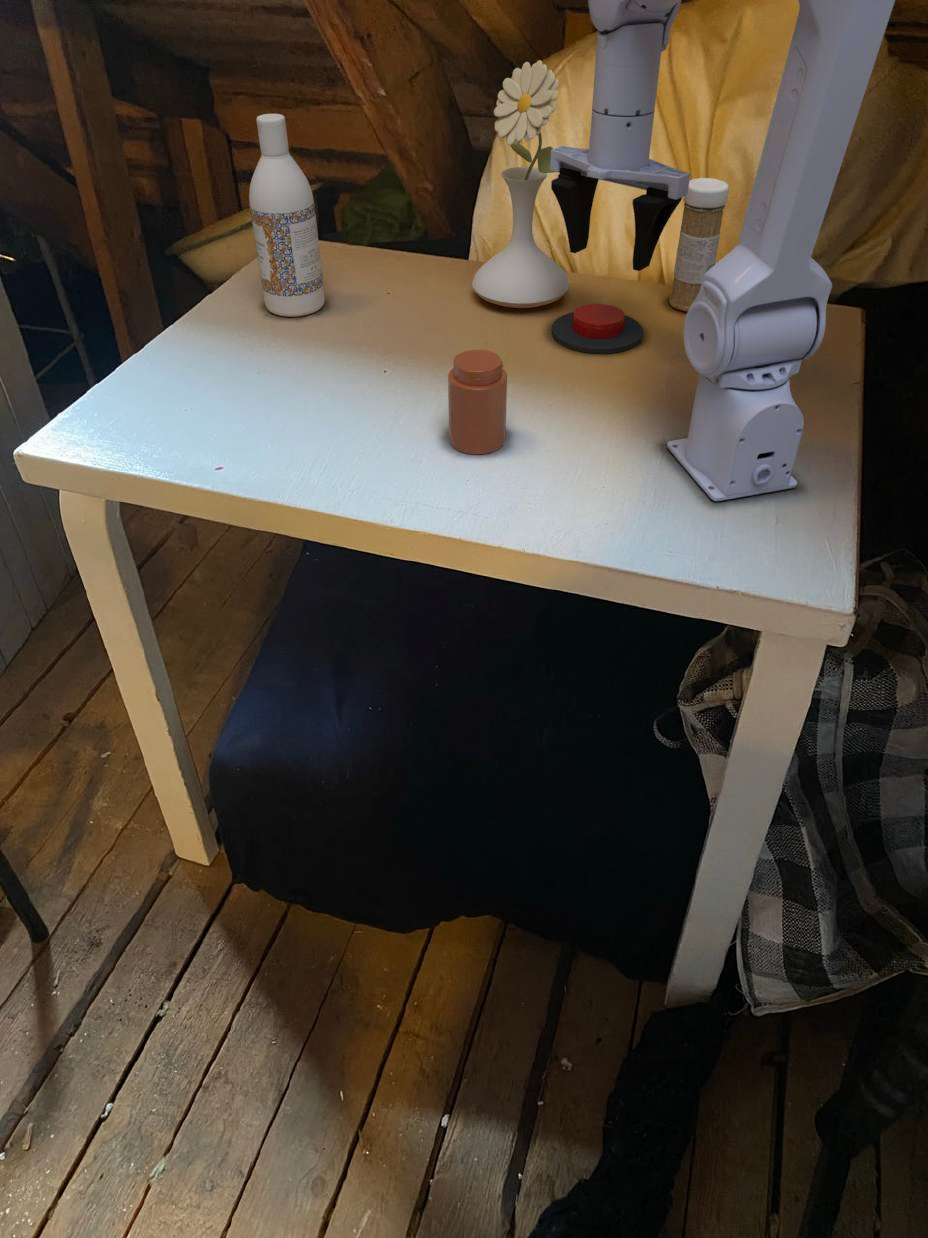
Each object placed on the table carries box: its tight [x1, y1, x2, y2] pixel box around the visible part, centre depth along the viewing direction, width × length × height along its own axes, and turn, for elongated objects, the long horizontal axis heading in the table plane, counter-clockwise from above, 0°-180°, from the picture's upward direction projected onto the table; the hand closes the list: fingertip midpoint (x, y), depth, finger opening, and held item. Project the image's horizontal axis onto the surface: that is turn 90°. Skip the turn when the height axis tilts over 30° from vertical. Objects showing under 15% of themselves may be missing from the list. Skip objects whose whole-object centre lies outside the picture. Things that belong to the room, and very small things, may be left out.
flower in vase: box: [471, 59, 570, 309], centre depth 100 cm, size 13×11×25 cm
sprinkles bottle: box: [668, 177, 730, 313], centre depth 103 cm, size 5×5×14 cm
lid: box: [572, 303, 625, 339], centre depth 101 cm, size 6×6×2 cm
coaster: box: [551, 311, 644, 355], centre depth 101 cm, size 10×10×1 cm
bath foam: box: [248, 113, 326, 318], centre depth 101 cm, size 7×7×20 cm
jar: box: [447, 349, 508, 456], centre depth 82 cm, size 5×5×8 cm
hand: (609, 258), depth 93 cm, fingers open, 7 cm apart
